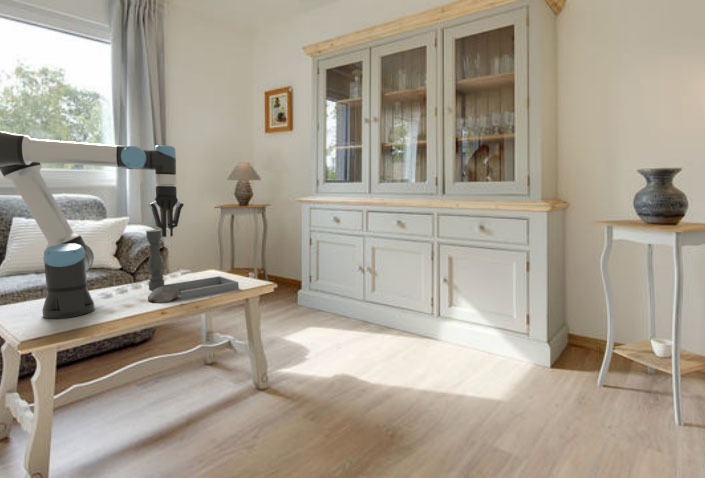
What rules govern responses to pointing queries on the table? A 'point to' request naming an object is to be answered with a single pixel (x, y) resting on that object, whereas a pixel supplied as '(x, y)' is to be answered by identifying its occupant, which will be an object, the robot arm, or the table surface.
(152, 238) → the candle holder
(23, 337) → the table surface
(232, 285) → the tray
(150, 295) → the fossilized seashell
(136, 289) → the table surface
